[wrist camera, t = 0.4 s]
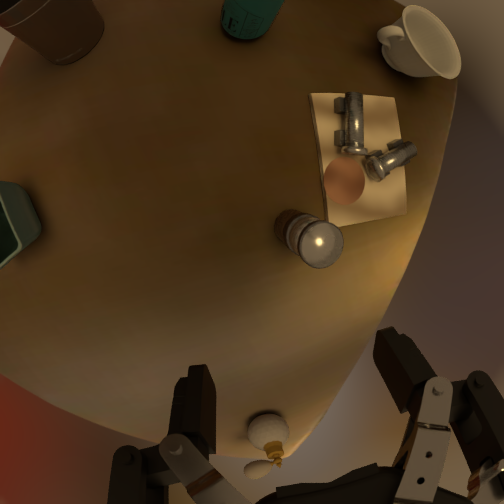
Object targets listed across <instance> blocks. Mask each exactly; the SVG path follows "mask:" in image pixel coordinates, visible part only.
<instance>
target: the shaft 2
mask: <svg viewBox="0 0 504 504" xmlns="http://www.w3.org/2000/svg"><path fill="white" fill-rule="evenodd" d="M387 147H388V149H389V151H388V152H387V153H385V154H383V153H382V151H381V150H373V151H372V152H370V153H368V156H365V158H366V160H365V168H366V171H367V173H368V175H369V176H370V177H371V178H372V179H373V180H374V181H376V182H380V181H382V180H384V179H385V178H386V176H387V175H389V174H390V171H391V170H393V169H395V168H396V167H402V166H404V165H406V164H407V163H409V162H410V159H412V158H413V157H415V156H416V155H417V149H416V147H415V145H414V144H413V143H412V142H410V141H407V142H405V143H403V140H402V139H395V140H393V141H391V142H389V143H387Z"/></svg>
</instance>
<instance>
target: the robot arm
mask: <svg viewBox="0 0 504 504" xmlns="http://www.w3.org/2000/svg"><path fill="white" fill-rule="evenodd" d="M0 26H1V27H2V28H4V29H5V30H7V31H8V32H10V33H11V34H12V35H14V36H15V37H17V38H18V39H20V40H21V41H23V42H24V43H26V44H27V45H29V46H30V47H31V48H33V49H34V50H36V51H37V52H39V53H40V54H41V55H43V56H44V57H46V58H47V59H48V60H50V61H51V62H53V63H55V64H59V65H64V64H69V63H72V62H74V61H76V60H78V59H80V58H81V57H83V56H84V55H86V54H87V53H88V52H89V51H90V50H91V49H92V48H93V47H94V46H95V45H96V44H97V42H98V41H99V39H100V37H101V35H102V33H103V29H104V21H103V19H102V17H101V15H100V14H99V12H98V10H97V9H96V7H95V5H94V4H93V2H92V0H0ZM373 359H374V362H375V364H376V366H377V368H378V370H379V372H380V374H381V376H382V378H383V379H384V382H385V384H386V386H387V388H388V389H389V391H390V393H391V395H392V397H393V399H394V401H395V403H396V405H397V407H398V409H399V411H400V413H401V414H402V413H404V412H407V411H408V412H409V413H410V417H409V420H408V423H407V427H406V430H405V434H404V437H403V440H402V443H401V446H400V449H399V451H398V453H397V456H396V457H395V460H394V462H393V464H392V467H387V466H383V467H378V466H377V463H374V464H370V465H367V466H364V467H361V468H358V469H355V470H352V471H351V472H349V473H347V474H345V475H343V476H342V477H339V478H337V479H336V480H334V481H332V482H329V483H299V484H293V485H288V486H281V487H276V492H274V493H271V494H269V495H267V496H265V497H264V498H262V499H260V500H259V501H258V502H256V503H255V504H499V503H500V502H501V501H503V500H504V399H503V397H502V396H501V394H500V392H499V391H498V389H497V388H496V386H495V385H494V383H493V381H492V380H491V378H490V377H489V376H488V375H487V374H486V373H485V372H483V371H473V372H472V373H470V374H469V376H468V378H467V379H466V380H461V381H454V382H450V381H449V380H448V379H446V378H444V377H438V376H437V375H436V374H435V372H434V371H433V369H432V368H431V366H430V365H429V363H428V362H427V360H426V359H425V357H424V356H423V355H422V354H421V352H420V350H419V349H418V348H417V346H416V345H415V343H414V342H413V340H412V339H411V338H409V337H408V336H406V335H405V334H401V335H399V334H398V333H397V331H396V330H395V329H394V327H392V326H391V327H388V328H384V329H381V330H378V331H377V333H376V338H375V344H374V350H373ZM173 396H174V398H173V402H172V404H173V405H172V408H171V415H170V423H169V430H168V434H167V436H166V437H165V438H164V439H163V440H162V441H161V442H160V444H158V445H156V446H153V447H149V448H145V449H141V450H138V449H137V448H136V447H134V446H130V445H126V446H122V447H120V448H119V449H117V450H116V452H115V453H114V456H113V461H112V468H111V475H110V483H109V492H108V502H107V504H169V502H168V501H169V499H168V488H169V485H170V484H174V483H179V482H181V483H182V484H183V485H184V487H185V488H186V489H187V493H188V494H189V495H190V497H191V498H192V499H193V500H194V501H195V503H196V504H252V503H251V502H249V501H248V500H247V499H246V498H245V497H244V496H243V495H242V494H241V493H239V492H238V491H237V490H236V489H235V488H234V487H233V486H232V485H231V484H230V483H229V482H228V481H227V480H226V479H225V478H224V477H223V476H222V475H221V474H220V473H219V472H218V471H217V470H216V469H215V468H214V467H213V466H212V465H211V464H210V463H209V454H216V388H215V384H214V382H213V379H212V377H211V375H210V372H209V370H208V367H207V365H206V364H202V365H192V366H189V369H188V377H182V378H180V379H179V381H178V382H177V384H176V385H175V388H174V395H173ZM448 423H450V425H451V427H452V429H453V431H454V434H455V436H456V438H457V440H458V442H459V445H460V447H461V449H462V452H463V454H464V456H465V459H466V461H467V464H468V466H469V469H470V471H471V475H470V477H469V480H468V485H467V490H468V491H469V492H468V497H464V496H462V495H459V494H456V493H454V492H451V491H448V490H446V489H443V488H441V487H439V486H438V483H439V480H440V477H441V473H442V469H443V466H444V462H445V458H446V454H447V449H448V444H449V440H450V434H451V430H450V428H448Z"/></svg>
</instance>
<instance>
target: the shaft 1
mask: <svg viewBox="0 0 504 504" xmlns="http://www.w3.org/2000/svg"><path fill="white" fill-rule="evenodd" d="M334 113H336V114H342V115H345V130H336V131H334V146H339V147H341V153H342V154H346V155H355V156H368V149H367V148H364V108H363V95H362V94H361V93H357V92H347V93H345V98H344V97H337V98H335V99H334Z"/></svg>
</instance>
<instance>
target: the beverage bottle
mask: <svg viewBox="0 0 504 504" xmlns="http://www.w3.org/2000/svg"><path fill="white" fill-rule="evenodd" d="M283 2H284V0H225V2H224V5H222V6H223V8H222V9H223V12H222V11H221V14H222V17H221V21H220V22H222V24H221V25H223V28H224V29H225V30H226V31H227V32H228V33H229V34H230V35H232V36H234V37H237V38H241V39H253V38H257V37H259V36H261V35H263V34H264V33H265V32H266V31H267V30H269V27H270V25H271V23H272V21H274V18H275V16H277V15H278V13H277V12H278V11H279V9H280V7H281V5H282V4H283ZM284 3H285V2H284ZM272 24H273V23H272ZM271 26H272V25H271ZM267 32H268V31H267Z"/></svg>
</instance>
